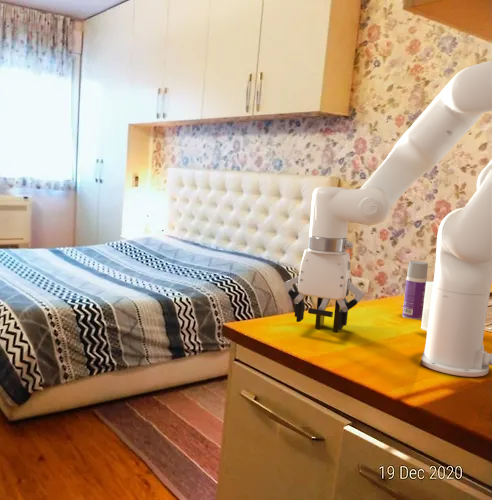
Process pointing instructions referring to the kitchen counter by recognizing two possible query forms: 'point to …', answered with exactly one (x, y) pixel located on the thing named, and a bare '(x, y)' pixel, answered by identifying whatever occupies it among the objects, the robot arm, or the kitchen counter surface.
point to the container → (415, 290)
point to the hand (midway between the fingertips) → (319, 323)
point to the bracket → (320, 318)
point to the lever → (321, 309)
